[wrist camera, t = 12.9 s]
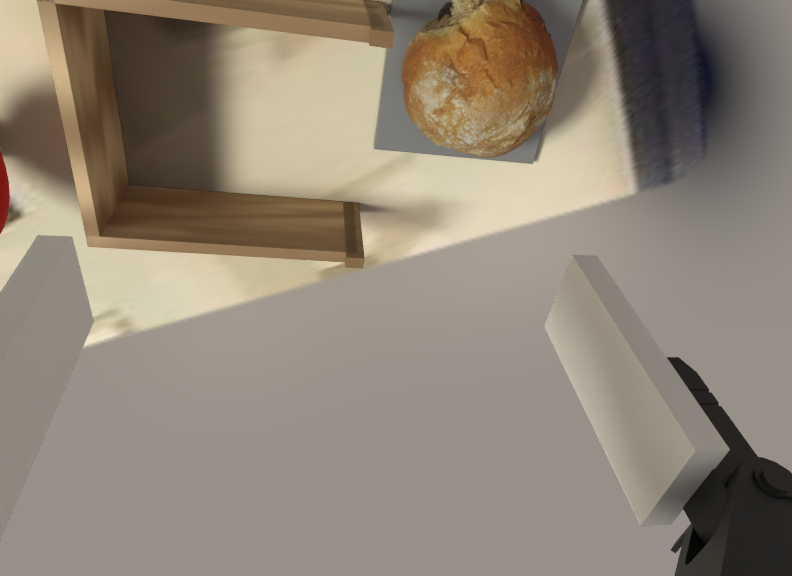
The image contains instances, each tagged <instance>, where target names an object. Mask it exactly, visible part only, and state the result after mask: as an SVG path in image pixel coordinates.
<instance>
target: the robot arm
mask: <svg viewBox="0 0 792 576" xmlns="http://www.w3.org/2000/svg"><path fill="white" fill-rule="evenodd" d="M93 322H94V320H93V316H92V312H91V308H90V304H89V300H88V297H87V293H86V289H85V285H84V281H83V277H82V273H81V269H80V265H79V261H78V257H77V254H76V250H75V246H74V242H73V238H72V237H70V236H42V235H38V236H37V237H36V239H35V240H34V242H33V243H32V245H31V247H30V248H29V250H28V251H27V253H26V254H25V256H24V257H23V259H22V260H21V262H20V263H19V265H18V266H17V268H16V269H15V271H14V272H13V274H12V276H11V277H10V279H9V280H8V282H7V283H6V285H5V286H4V288H3V289H2V291H1V292H0V540H1V537H2V535H3V533H4V530H5V528H6V526H7V523H8V521H9V519H10V516H11V514H12V511H13V509H14V507H15V505H16V502H17V500H18V498H19V495H20V493H21V491H22V488H23V486H24V484H25V481H26V479H27V477H28V474H29V472H30V470H31V467H32V465H33V463H34V460H35V458H36V455H37V453H38V451H39V449H40V446H41V444H42V441H43V439H44V437H45V434H46V432H47V430H48V427H49V425H50V423H51V420H52V418H53V415H54V413H55V411H56V409H57V406H58V404H59V401H60V399H61V397H62V395H63V392H64V390H65V388H66V385H67V383H68V381H69V378H70V376H71V373H72V371H73V369H74V366H75V364H76V362H77V359H78V357H79V354H80V352H81V350H82V348H83V345H84V343H85V341H86V338H87V336H88V334H89V331H90V329H91V327H92V324H93ZM545 329H546V331H547V333H548V335H549V337H550V339H551V341H552V343H553V346H554V347H555V350H556V352H557V354H558V356H559V358H560V360H561V362H562V364H563V366H564V368H565V370H566V373H567V375H568V377H569V378H570V381H571V383H572V385H573V387H574V389H575V391H576V393H577V395H578V397H579V399H580V401H581V403H582V405H583V408H584V410H585V412H586V414H587V416H588V418H589V420H590V422H591V424H592V426H593V428H594V430H595V433H596V435H597V437H598V439H599V440H600V443H601V445H602V447H603V449H604V451H605V453H606V455H607V457H608V459H609V461H610V464H611V466H612V468H613V470H614V472H615V474H616V476H617V478H618V480H619V482H620V484H621V486H622V488H623V490H624V493H625V495H626V497H627V499H628V501H629V503H630V505H631V507H632V509H633V511H634V513H635V515H636V517H637V519H638V521H639V524H640V526H650V525H666V524H667V525H668V524H672V523H673V521H674V520H675V519H676V518H677V517H678V515H679V514H680V513H681V511H682V510H683V509H684V511H685V512H686V515H687V516H688V518H689V520H690V522H691V524H690V526H689V527H688V528H687V529H686V530H685V532H684V533H683V534H682V535H681V536H680V538H679V539H678V540H677V541H676V543H675V544H674V546H673V547H672V549H671V551H673V552H675V553H676V552H677V551H678V550H679V548H680V547H681V546H682V548H681V552H680V556H679V559H678V564H677V568H676V572H675V576H792V473H791V472H790V471H789V470H787V469H786V468H784V467H782V466H781V465H779V464H778V463H776V462H773V461H771V460H768V459H765V458H760V457H758V456H757V455H756V454H755V453H754V451H753V450H752V448H751V447H750V445H749V444H748V443H747V441H746V440H745V439H744V437H743V436H742V434H741V433H740V432H739V430H738V429H737V428H736V426H735V425H734V423H733V422H732V421H731V419H730V418H729V416H728V415H727V414H726V413H725V411H724V410H723V408H722V407H721V406H719V405H718V401H717V400H716V398H715V397H714V396H713V394H712V393H709V389H708V387H707V386H706V385H705V384H704V382H703V380H702V379H701V378H700V376H699V375H698V374H697V372H696V371H694V370H693V369H692V368H691V367H689V366H688V365H687V364H686V363H684V362H683V361H682V360H681V359H680V358H678V357H675V358H674V357H673V358H671V357H666V356H665V354H664V353H663V351H662V350H661V348H660V347H659V346H658V344H657V343H656V341H655V340H654V339H653V337H652V335H651V334H650V333H649V331H648V329H647V328H646V327H645V325H644V324H643V322H642V321H641V319H640V318H639V316H638V315H637V314H636V312H635V311H634V309H633V308H632V306H631V305H630V303H629V302H628V300H627V299H626V298H625V296H624V295H623V293H622V292H621V290H620V289H619V287H618V286H617V284H616V283H615V282H614V280H613V279H612V277H611V276H610V274H609V273H608V271H607V270H606V268H605V267H604V265H603V264H602V263H601V261H600V260H599V258H598V257H597V256H589V255H572V256H571V259H570V262H569V264H568V267H567V269H566V272H565V275H564V277H563V280H562V282H561V285H560V288H559V290H558V293H557V295H556V298H555V301H554V303H553V306H552V309H551V311H550V314H549V316H548V319H547V322H546V324H545Z"/></svg>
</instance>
